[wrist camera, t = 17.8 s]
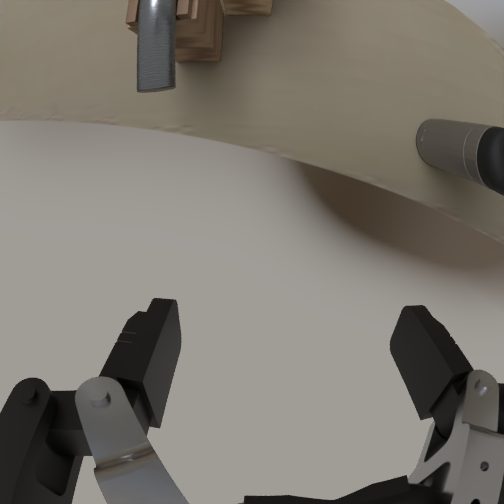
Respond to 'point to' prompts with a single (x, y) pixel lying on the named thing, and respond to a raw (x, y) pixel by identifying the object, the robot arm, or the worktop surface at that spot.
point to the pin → (156, 45)
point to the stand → (248, 7)
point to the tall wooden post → (191, 29)
